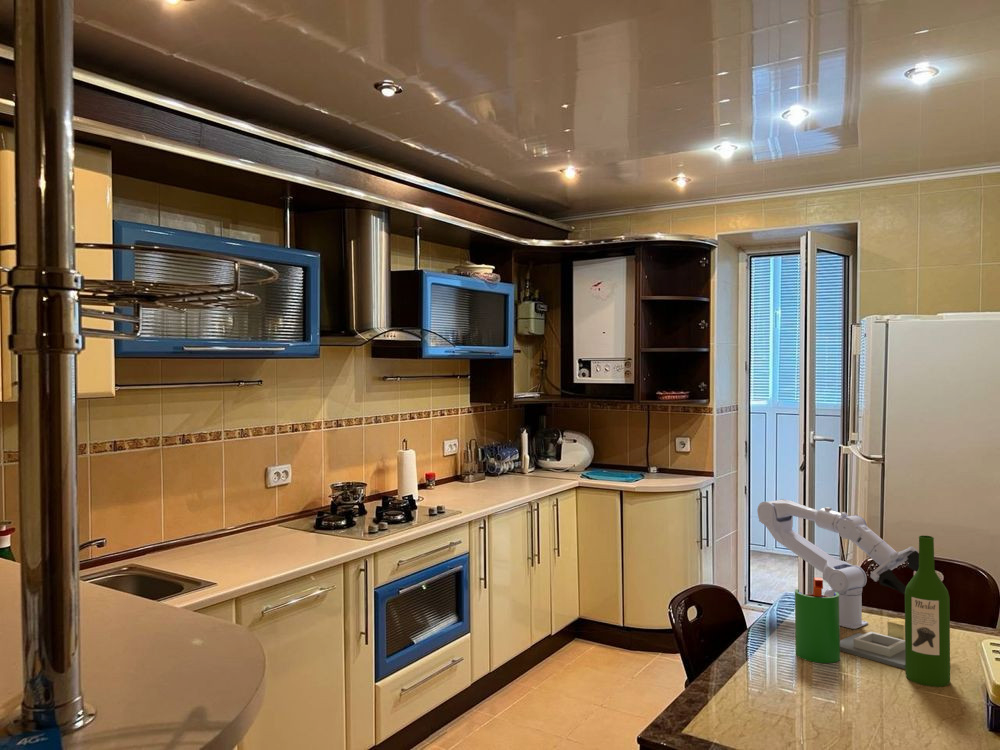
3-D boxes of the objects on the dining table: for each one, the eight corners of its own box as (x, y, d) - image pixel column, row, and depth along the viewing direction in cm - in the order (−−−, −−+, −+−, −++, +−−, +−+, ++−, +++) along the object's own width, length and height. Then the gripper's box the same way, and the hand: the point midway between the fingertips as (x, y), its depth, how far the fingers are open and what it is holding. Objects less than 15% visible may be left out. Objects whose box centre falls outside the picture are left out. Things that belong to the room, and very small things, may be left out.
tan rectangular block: (887, 642, 197) (887, 621, 197) (896, 638, 200) (896, 617, 200) (903, 646, 194) (903, 625, 194) (912, 642, 197) (912, 621, 197)
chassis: (831, 648, 193) (831, 636, 193) (858, 636, 202) (858, 625, 202) (904, 669, 179) (904, 656, 179) (930, 655, 188) (930, 643, 188)
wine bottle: (905, 682, 171) (904, 538, 171) (905, 669, 179) (904, 531, 179) (951, 690, 167) (950, 542, 167) (949, 675, 175) (947, 534, 175)
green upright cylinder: (833, 650, 191) (832, 571, 192) (846, 664, 183) (845, 581, 183) (792, 649, 192) (791, 570, 193) (802, 662, 184) (801, 580, 184)
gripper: (859, 554, 201) (901, 592, 191) (900, 527, 204) (944, 564, 194) (855, 569, 205) (897, 606, 196) (896, 542, 209) (938, 578, 199)
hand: (920, 586), depth 195 cm, fingers open, 7 cm apart
